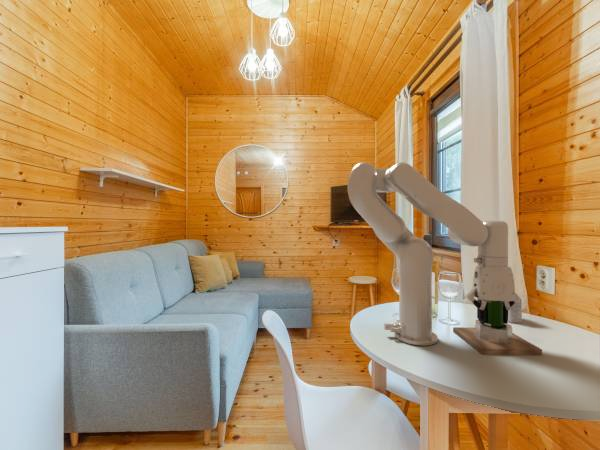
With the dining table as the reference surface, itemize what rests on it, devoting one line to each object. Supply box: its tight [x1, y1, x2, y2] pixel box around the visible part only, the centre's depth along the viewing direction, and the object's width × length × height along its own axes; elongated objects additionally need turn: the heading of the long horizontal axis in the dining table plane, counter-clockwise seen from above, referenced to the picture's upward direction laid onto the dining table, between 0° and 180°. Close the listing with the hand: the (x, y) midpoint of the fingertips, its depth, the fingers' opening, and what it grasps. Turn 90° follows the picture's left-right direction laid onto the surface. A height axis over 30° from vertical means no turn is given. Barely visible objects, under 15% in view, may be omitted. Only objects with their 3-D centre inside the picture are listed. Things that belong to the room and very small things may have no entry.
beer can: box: [482, 301, 504, 328], centre depth 86 cm, size 5×5×12 cm
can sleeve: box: [475, 319, 513, 344], centre depth 86 cm, size 9×9×4 cm
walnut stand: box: [452, 326, 543, 356], centre depth 86 cm, size 16×16×2 cm
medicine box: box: [508, 298, 523, 324], centre depth 106 cm, size 8×4×9 cm, turn 3°
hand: (492, 321), depth 86 cm, fingers closed on beer can, 5 cm apart
